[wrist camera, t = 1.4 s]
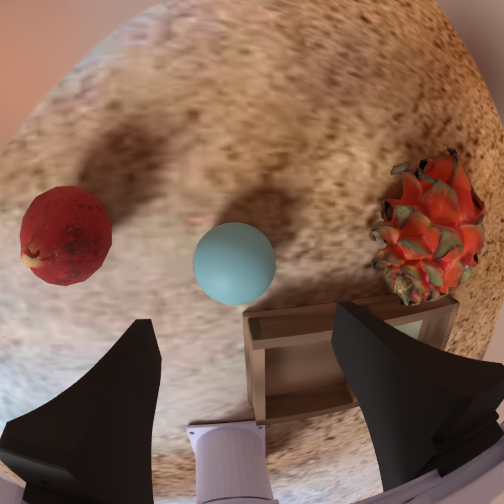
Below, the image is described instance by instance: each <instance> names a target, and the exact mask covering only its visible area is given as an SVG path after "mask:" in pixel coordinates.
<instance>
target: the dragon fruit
mask: <svg viewBox="0 0 504 504" xmlns="http://www.w3.org/2000/svg"><path fill="white" fill-rule="evenodd" d="M442 144H443V143H442ZM444 146H445V145H444ZM447 146H448V145H447ZM447 150H448V151H449V152H450V155H448V154H443V155H439V156H438V157H436V158H435V160H432V159H425V160H421V161H420V164H419V169H418V168H417V169H416V170H415V171H414V173H412V172H411V171H409V170H407V169H408V167H409V163H404V164H401V165H397V166H394V167H393V168H392V170H391V172H390V175H394V174H401V176H402V183H403V196H402V199H400V200H394V199H392V198H386V199H384V200H383V201H382V203H381V207H382V210H381V217H382V219H384V221H381V222H377V223H375V224H374V225H373V226H372V228H371V229H370V232H369V236H370V238H371V239H372V240H374V241H376V238H375V236H374V235H373V232H374V231H376V232H378V233H379V234H381V235H382V237H383V238H384V239H385V240H384V242H385V243H386V244H387V246H386V247H385V248H384V249H382V250H380V251H378V252H377V253H376V255H375V257H374V258H373V260H372V265H373V268H374V269H382V270H384V273H383V284H384V285H385V286H386V288H388V289H389V290H390V291H391V292H392V293H397V294H398V298H399V300H400V302H399V304H401V305H408V306H411V305H418V304H419V303H420V302H421V300H422V298H423V299H424V301H425V302H429V301H435V300H438V299H440V298H442V297H444V296H446V295H448V293H449V290H448V289H449V287H450V286H452V287H458V286H459V285H460V284H462V283H463V282H464V281H465V280H466V279H467V278H468V277H469V276H470V274H471V270H472V267H474V266H476V265H477V264H478V257H477V252H478V251H480V249H481V248H482V246H483V242H484V226H483V224H482V221H483V218H484V213H485V204H484V202H482V201H481V200H480V198H479V197H478V196H477V194H476V192H475V190H474V188H473V187H472V185H471V181H470V179H469V176H468V174H467V173H466V171H465V170H464V169H465V168H463V164H462V162H461V160H460V158H459V156H458V155H457V152H456V150H455V149H453V148H447ZM427 163H428V166H427V168H426V170H425V171H423V169H424V167H425V166H426V164H427ZM415 175H416V176H415ZM418 176H419V177H420V179H419V180H418V179H417V177H418ZM388 206H390V208H391V210H392V218H391V221H390V218H389V216H388V213H387V209H388ZM401 305H400V306H401Z"/></svg>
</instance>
